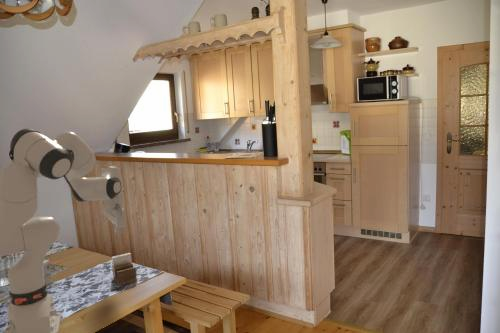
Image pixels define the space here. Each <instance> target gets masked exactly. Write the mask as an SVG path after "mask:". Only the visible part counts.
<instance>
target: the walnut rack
mask: <svg viewBox="0 0 500 333" xmlns="http://www.w3.org/2000/svg"><path fill="white" fill-rule="evenodd" d="M111 267H112V269H113V264H111ZM136 269H137V268H136V267H135V266H134V263H133V262H132V263H131V264H127V265H123V266H119V267H115V268H114V270H115V277H114V271H113V270H112V276H113V280H114V281H115V282H116V284H117V286H121V284H122V285H125V284H129V283H132V282H136V281H137V280H138V278H137V270H136Z"/></svg>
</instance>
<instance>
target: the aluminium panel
mask: <svg viewBox="0 0 500 333" xmlns="http://www.w3.org/2000/svg"><path fill="white" fill-rule="evenodd" d="M111 262H112V265H113V268H112V272H113V271H114V277H115V270H114V268H115V267H119V266H123V265H127V264H131V263H132V264H133V262H132V253H130V252H126V253H122V254H119V255H115V256H111ZM114 277H113V278H114Z"/></svg>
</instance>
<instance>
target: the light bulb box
mask: <svg viewBox="0 0 500 333" xmlns="http://www.w3.org/2000/svg"><path fill="white" fill-rule="evenodd" d="M50 265H51V264H50V260H49V259H44V264H43V269H44V280H45V282H46V285H47V286H48V285H50V284H52V283H53V278H52V272H51V271H52V270H51V266H50Z"/></svg>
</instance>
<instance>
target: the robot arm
mask: <svg viewBox="0 0 500 333" xmlns="http://www.w3.org/2000/svg"><path fill="white" fill-rule="evenodd" d="M9 149H10V150H9V152H8V155H9V159H10V160H11V162H9V163H6V164H5V165H4V166H3V167H2V169H1V171H0V257H5V256H9V255H13V254H14V255H15V254H17V253H22V252H23V254H22V256H21V257H20V258H19V259H18V260H17V261H15V262H14V263H13V264H12V265H10V267H9V269H8V271H7V276H8V277H7V278H8V283H9V284H8V285H9V291H8V292H9V301H10V303H9V305H8V306H7V307H6V311H7V319H8V321H7V324H8V325H6V326H5V327H3V329H2V331H3V333H59V331H60V325H61V319H62V312H60V311H57V309H56V308H55V306H56V304H55V301H54V298H53V295H51V294H49V293H48V291H49V290H48V285H46V282H45V280H44V269H43V264H44V260H46V259H45V257H46V255H47V253H48V251H49V250H50V248H51V247H52V246H53V244H55V242H57V240H58V238H59V236H60V234H61V228H60V225H59V222H58V220H57V219H55V218H54V217H52V216H36V213H37V212H38V205H39V203H38V199H39V198H38V184H37V183H38V182H37V181H38V177H39V175H40V174H41V176H42V177H45V178H47V179H51V180H58V179H59V180H60V179H61V178H64V180H65V181H66V183H67V185H68V186H69V188H70V189H71V190H70V191H71V193H72V196H73V197H74V199H75V200H77V201H78V202H82V203H83V202H89V201H102V205H103V207H104V210H105V215H106V216H105V217H106V219H107V220H109V222H111V223H112V225H113V228H114V229H113V230H114V232H115V234H120V233H121V228H122V227H126V226H127V219H126V211H125V210H124V208H123V207H124V206H125V205H126V202H125V195H124V194H125V193H124V192H123V191H124V190H123V187H124V183H123V176H122V173H121V169H120V167H118V166H104V167H102V168H101V170H100V176H96V177H83V176H86V175H88V174H90V173H91V171H93V169H94V167H95V166H96V162H97V158H96V155H95V152H94V151H93V149H92V148H91V147H90V146H89V145H88V143H87V142H86V141H85V140H84V139H83V138H82V137H81V136H79V135H78V134H76V133H74V132H72V131H63V132H60V133H58V134H57V135H56V136H54V139H51V138H50V137H48V136H46V135H45V134H42V133H41V132H40V131H38V130H36V129H32V128H22V129H20V130H18V131H17V132H16V133H15V134H14V135H13V137H12V139H11V141H10V147H9ZM34 216H35V217H34Z"/></svg>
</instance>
